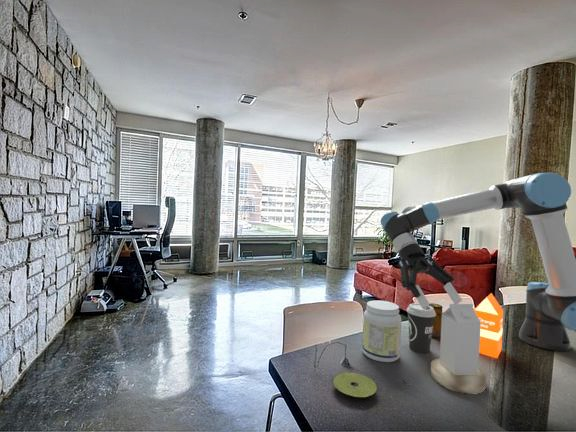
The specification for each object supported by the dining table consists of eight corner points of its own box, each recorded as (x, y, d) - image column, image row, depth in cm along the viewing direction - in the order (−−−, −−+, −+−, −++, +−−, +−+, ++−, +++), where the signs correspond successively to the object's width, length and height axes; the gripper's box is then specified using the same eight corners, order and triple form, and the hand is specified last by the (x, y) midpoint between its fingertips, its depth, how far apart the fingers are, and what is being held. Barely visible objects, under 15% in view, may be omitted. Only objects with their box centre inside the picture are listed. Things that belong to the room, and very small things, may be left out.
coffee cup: (421, 357, 101) (423, 312, 101) (399, 345, 110) (400, 304, 110) (440, 352, 106) (442, 309, 106) (417, 341, 114) (419, 301, 114)
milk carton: (439, 363, 92) (442, 300, 91) (461, 362, 92) (464, 300, 92) (454, 376, 85) (457, 308, 84) (478, 375, 85) (481, 308, 85)
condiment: (429, 330, 126) (430, 301, 126) (451, 337, 119) (452, 306, 119) (420, 334, 121) (422, 304, 121) (442, 341, 115) (444, 310, 114)
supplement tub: (369, 343, 111) (371, 297, 111) (404, 353, 104) (406, 304, 104) (356, 355, 101) (358, 305, 101) (393, 367, 94) (396, 313, 94)
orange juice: (501, 350, 109) (504, 294, 109) (497, 358, 103) (500, 299, 102) (476, 343, 114) (479, 290, 114) (471, 350, 108) (473, 294, 108)
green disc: (385, 400, 77) (385, 393, 77) (345, 407, 74) (345, 399, 74) (362, 377, 88) (362, 370, 88) (326, 381, 85) (326, 374, 85)
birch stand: (480, 374, 92) (481, 364, 92) (491, 399, 79) (491, 388, 79) (429, 363, 97) (430, 354, 97) (431, 386, 85) (431, 375, 85)
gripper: (428, 254, 114) (463, 306, 100) (373, 256, 104) (404, 314, 91) (441, 241, 109) (479, 295, 95) (384, 242, 99) (418, 301, 86)
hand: (442, 304), depth 93 cm, fingers open, 13 cm apart
